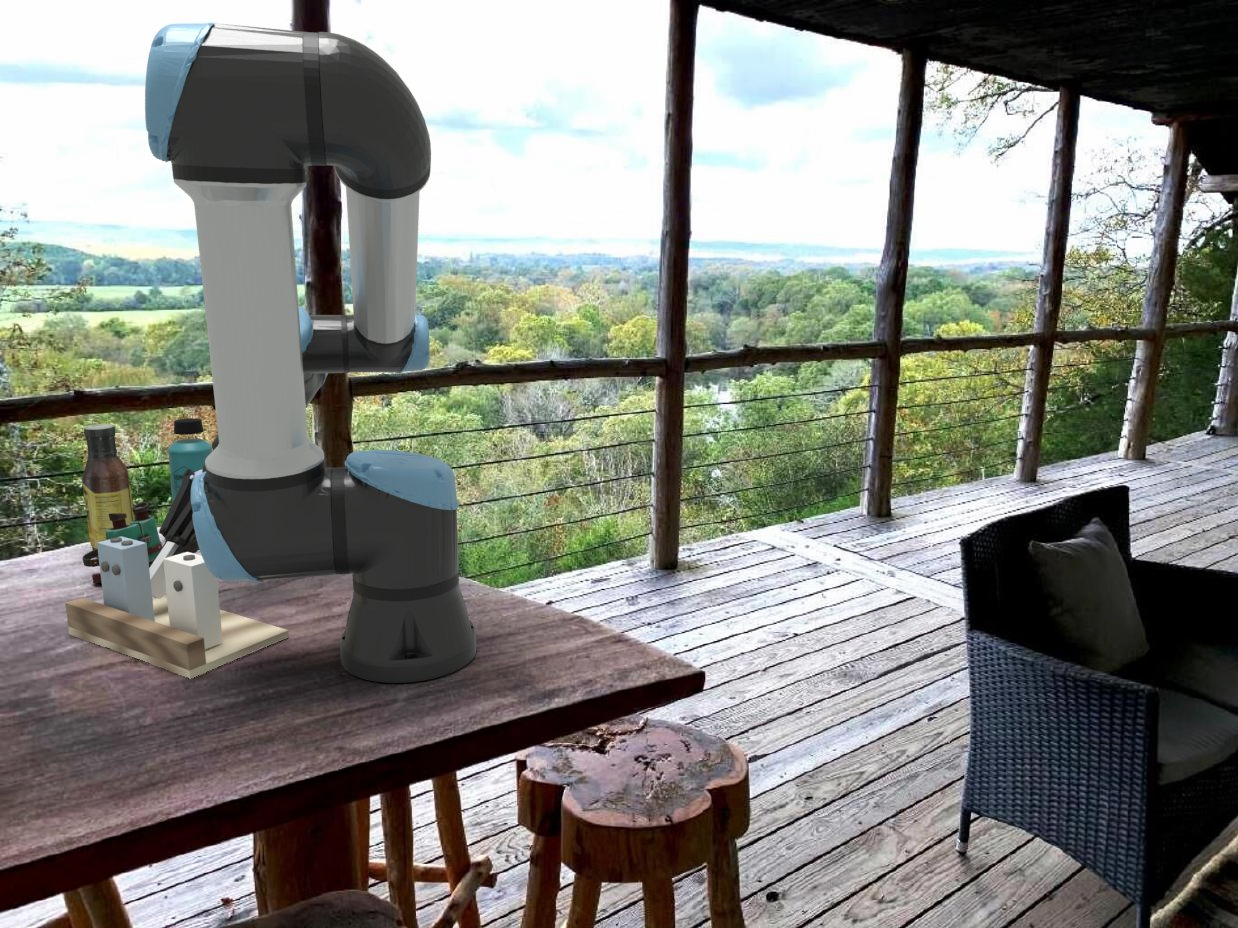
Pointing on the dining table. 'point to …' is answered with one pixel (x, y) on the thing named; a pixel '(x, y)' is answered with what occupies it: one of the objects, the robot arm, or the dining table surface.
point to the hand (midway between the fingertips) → (148, 593)
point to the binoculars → (130, 535)
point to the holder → (167, 636)
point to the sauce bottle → (104, 482)
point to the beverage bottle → (186, 452)
